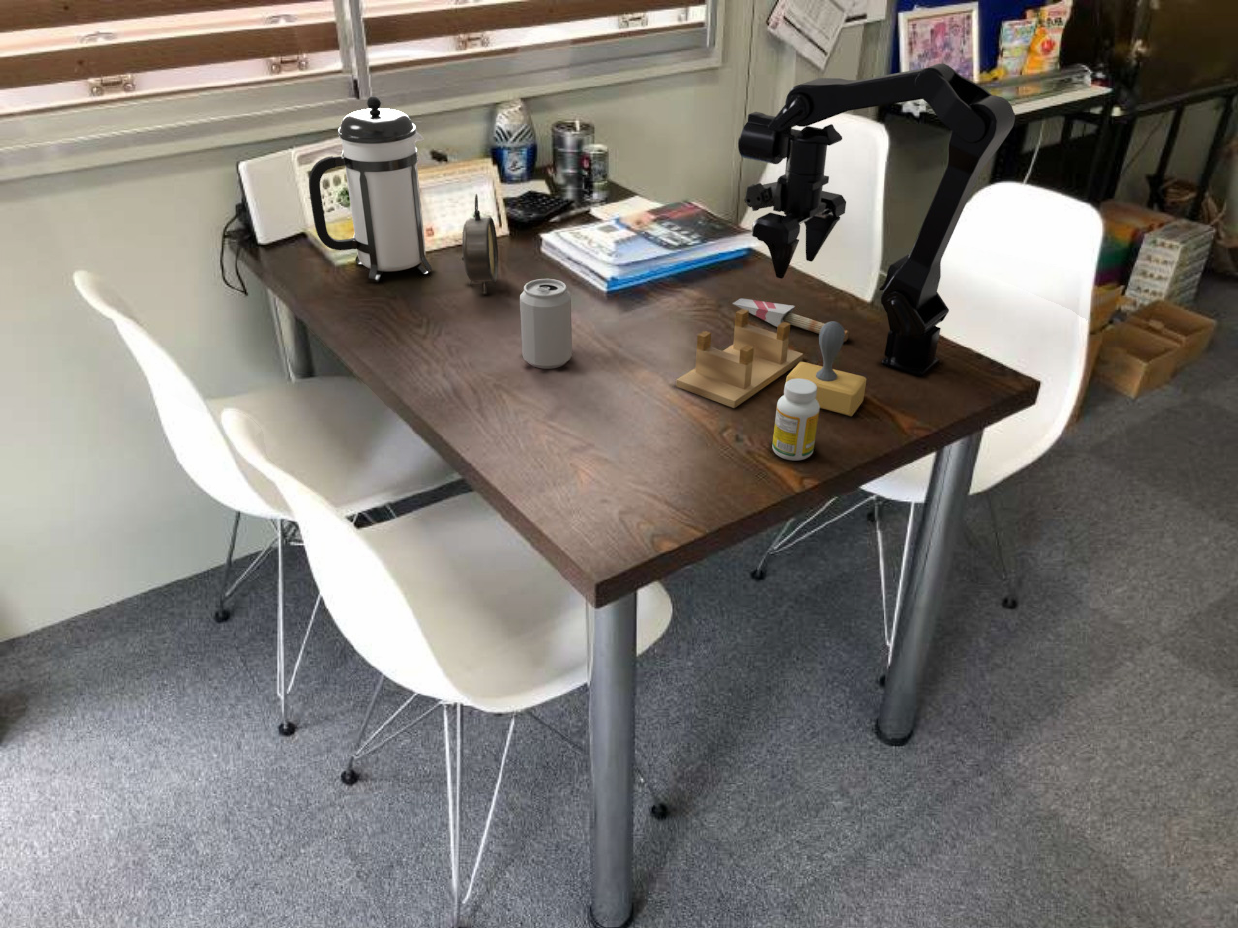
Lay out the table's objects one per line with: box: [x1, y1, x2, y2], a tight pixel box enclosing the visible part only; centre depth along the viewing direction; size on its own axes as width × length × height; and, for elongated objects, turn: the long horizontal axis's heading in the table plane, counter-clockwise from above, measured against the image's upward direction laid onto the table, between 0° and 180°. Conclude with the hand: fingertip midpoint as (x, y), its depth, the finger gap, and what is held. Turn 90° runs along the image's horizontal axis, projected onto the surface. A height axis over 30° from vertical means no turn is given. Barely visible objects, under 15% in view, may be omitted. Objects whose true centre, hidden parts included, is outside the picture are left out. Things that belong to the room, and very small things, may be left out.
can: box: [519, 278, 573, 370], centre depth 149 cm, size 8×8×12 cm
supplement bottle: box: [771, 379, 821, 461], centre depth 128 cm, size 5×5×10 cm
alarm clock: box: [461, 193, 499, 296], centre depth 172 cm, size 11×5×16 cm, turn 179°
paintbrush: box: [732, 297, 850, 343], centre depth 163 cm, size 4×3×20 cm
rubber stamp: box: [785, 320, 867, 417], centre depth 139 cm, size 10×6×12 cm, turn 61°
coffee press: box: [308, 95, 433, 284], centre depth 173 cm, size 17×16×30 cm
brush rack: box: [675, 308, 804, 409], centre depth 147 cm, size 10×19×7 cm, turn 141°
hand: (794, 269), depth 158 cm, fingers open, 9 cm apart
